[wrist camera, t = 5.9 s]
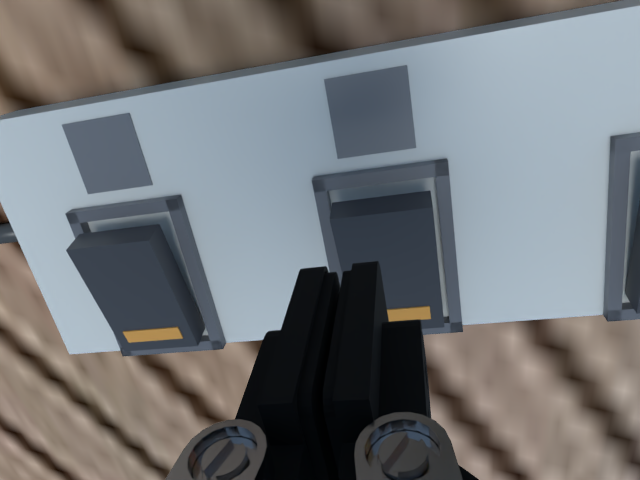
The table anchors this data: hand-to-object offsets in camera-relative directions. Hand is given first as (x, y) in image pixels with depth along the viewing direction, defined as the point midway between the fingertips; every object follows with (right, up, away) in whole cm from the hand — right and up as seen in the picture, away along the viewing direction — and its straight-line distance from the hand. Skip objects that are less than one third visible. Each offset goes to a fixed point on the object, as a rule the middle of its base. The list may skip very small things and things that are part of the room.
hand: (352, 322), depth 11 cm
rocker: (-10, -1, +16) cm, 19 cm away
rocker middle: (+3, 0, +13) cm, 14 cm away
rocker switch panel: (-1, +5, +18) cm, 19 cm away
